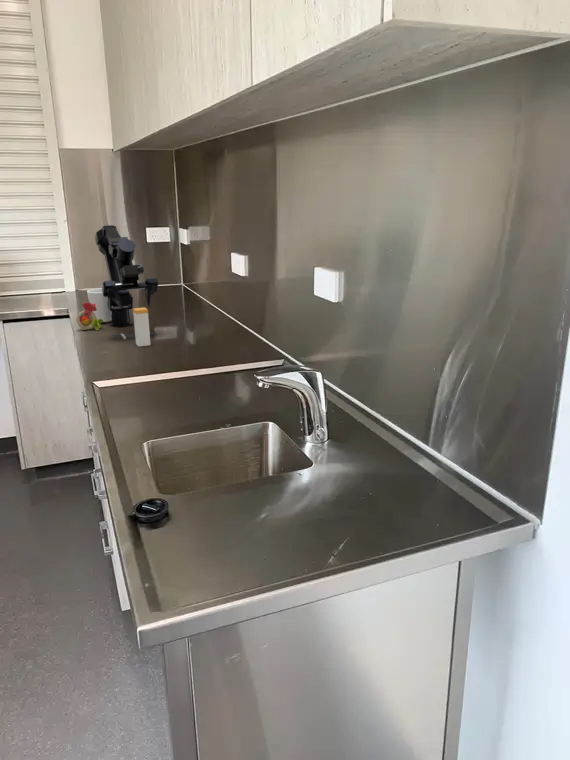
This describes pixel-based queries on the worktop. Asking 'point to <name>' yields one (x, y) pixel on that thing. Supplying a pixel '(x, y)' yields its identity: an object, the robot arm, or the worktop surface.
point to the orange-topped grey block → (141, 326)
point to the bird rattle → (85, 319)
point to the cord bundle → (130, 335)
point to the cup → (100, 305)
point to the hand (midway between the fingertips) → (135, 306)
